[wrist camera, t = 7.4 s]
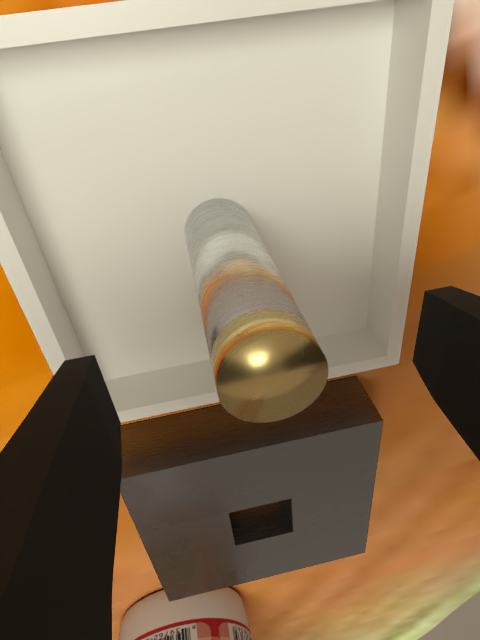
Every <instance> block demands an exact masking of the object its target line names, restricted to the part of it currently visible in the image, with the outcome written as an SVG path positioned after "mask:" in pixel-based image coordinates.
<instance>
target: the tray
mask: <svg viewBox="0 0 480 640" xmlns="http://www.w3.org/2000/svg"><path fill="white" fill-rule="evenodd" d="M453 5H454V0H125V1H117V2H108V3H100V4H92V5H83V6H75V7H67V8H58V9H50V10H42V11H33V12H25V13H17V14H8V15H0V263H1V266H2V268H3V270H4V272H5V274H6V276H7V278H8V280H9V282H10V285H11V287H12V289H13V291H14V293H15V295H16V297H17V299H18V301H19V303H20V306H21V308H22V310H23V312H24V314H25V316H26V318H27V320H28V322H29V325H30V327H31V329H32V331H33V333H34V335H35V337H36V339H37V341H38V344H39V346H40V348H41V350H42V352H43V354H44V356H45V358H46V360H47V362H48V365H49V367H50V369H51V371H52V373H53V375H55V373H56V372H57V370H58V369H59V368H60V366H61V365H62V363H63V362H64V361H65V360H70V359H75V358H80V357H85V356H90V355H95V357H96V360H97V362H98V365H99V368H100V370H101V373H102V375H103V378H104V381H105V383H106V386H107V388H108V391H109V394H110V396H111V399H112V401H113V404H114V407H115V409H116V412H117V414H118V417H119V420H120V423H121V422H126V421H131V420H136V419H140V418H145V417H150V416H155V415H159V414H164V413H169V412H174V411H178V410H183V409H188V408H193V407H197V406H202V405H207V404H212V403H216V402H220V401H219V398H218V394H217V390H216V385H215V380H214V375H213V370H212V365H211V360H210V356H209V351H208V346H207V341H206V336H205V331H204V326H203V322H202V317H201V312H200V307H199V302H198V297H197V292H196V288H195V283H194V278H193V273H192V268H191V263H190V258H189V254H188V249H187V244H186V239H185V224H186V221H187V218H188V216H189V215H190V213H191V212H192V211H193V209H194V208H196V207H197V206H198V205H199V204H201V203H203V202H204V201H207V200H210V199H214V198H225V199H229V200H232V201H234V202H236V203H238V204H239V205H241V206H242V207H243V208H244V209H245V211H246V212H247V214H248V215H249V217H250V219H251V221H252V223H253V225H254V226H255V228H256V230H257V232H258V234H259V236H260V237H261V239H262V241H263V243H264V245H265V247H266V248H267V250H268V252H269V254H270V256H271V258H272V260H273V261H274V263H275V265H276V267H277V269H278V271H279V272H280V274H281V276H282V278H283V280H284V282H285V283H286V285H287V287H288V289H289V291H290V293H291V295H292V296H293V298H294V300H295V302H296V304H297V306H298V307H299V309H300V311H301V313H302V315H303V317H304V318H305V320H306V322H307V324H308V326H309V328H310V329H311V331H312V333H313V335H314V337H315V339H316V341H317V342H318V344H319V346H320V348H321V350H322V352H323V353H324V355H325V357H326V360H327V363H328V378H327V379H330V378H335V377H340V376H344V375H349V374H354V373H359V372H363V371H368V370H373V369H378V368H382V367H387V366H392V365H397V364H399V360H400V354H401V347H402V340H403V334H404V327H405V321H406V314H407V308H408V301H409V294H410V288H411V281H412V275H413V268H414V262H415V255H416V248H417V242H418V235H419V229H420V222H421V216H422V209H423V202H424V196H425V189H426V183H427V176H428V170H429V163H430V156H431V150H432V143H433V137H434V130H435V124H436V117H437V110H438V104H439V97H440V91H441V84H442V78H443V71H444V64H445V58H446V51H447V45H448V38H449V32H450V25H451V18H452V12H453Z"/></svg>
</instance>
